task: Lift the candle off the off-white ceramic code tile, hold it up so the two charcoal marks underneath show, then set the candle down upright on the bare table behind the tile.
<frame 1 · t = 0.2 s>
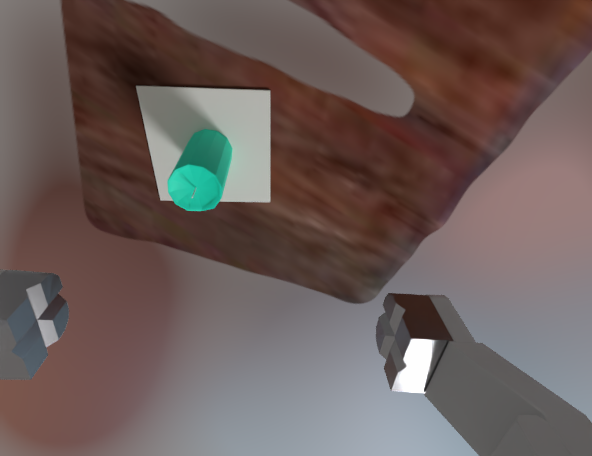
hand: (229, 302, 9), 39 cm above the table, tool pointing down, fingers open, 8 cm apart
code tile: (210, 149, 48), on the table
candle: (210, 149, 47), resting on code tile
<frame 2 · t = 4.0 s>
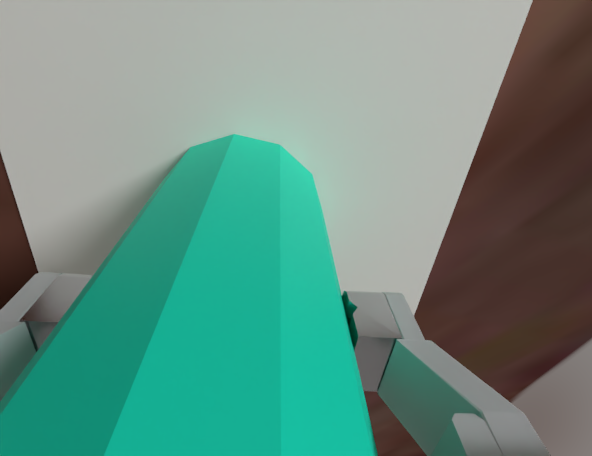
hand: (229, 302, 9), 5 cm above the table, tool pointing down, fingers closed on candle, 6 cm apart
code tile: (243, 209, 13), on the table
candle: (243, 211, 13), resting on code tile, touching gripper
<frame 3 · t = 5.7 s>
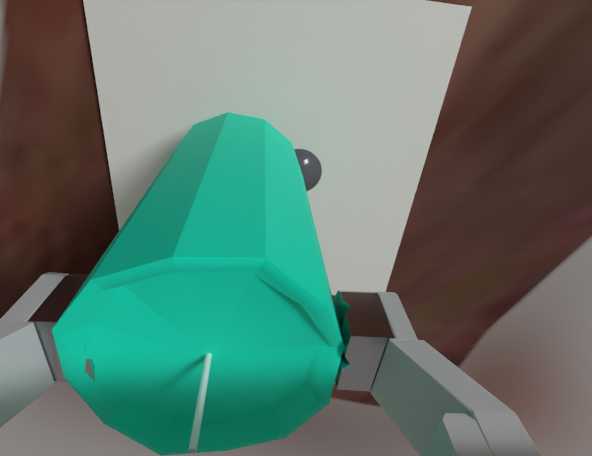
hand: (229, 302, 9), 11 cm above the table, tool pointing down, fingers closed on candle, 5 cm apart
code tile: (268, 166, 18), on the table
candle: (237, 176, 17), point 2 cm above the table, touching gripper
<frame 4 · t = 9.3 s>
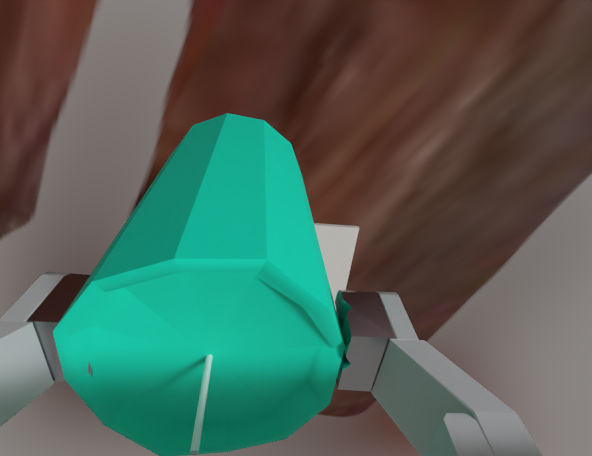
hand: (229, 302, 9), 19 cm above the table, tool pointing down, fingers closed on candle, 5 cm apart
code tile: (260, 293, 34), on the table
candle: (237, 177, 17), point 10 cm above the table, touching gripper
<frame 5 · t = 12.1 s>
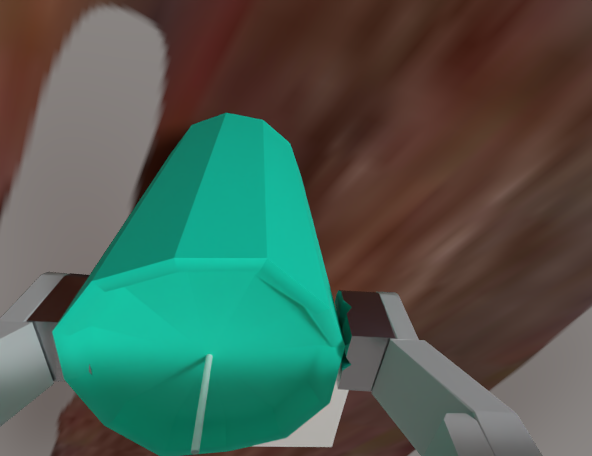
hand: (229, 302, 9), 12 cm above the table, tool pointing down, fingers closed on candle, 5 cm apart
code tile: (251, 389, 29), on the table
candle: (236, 177, 16), point 3 cm above the table, touching gripper
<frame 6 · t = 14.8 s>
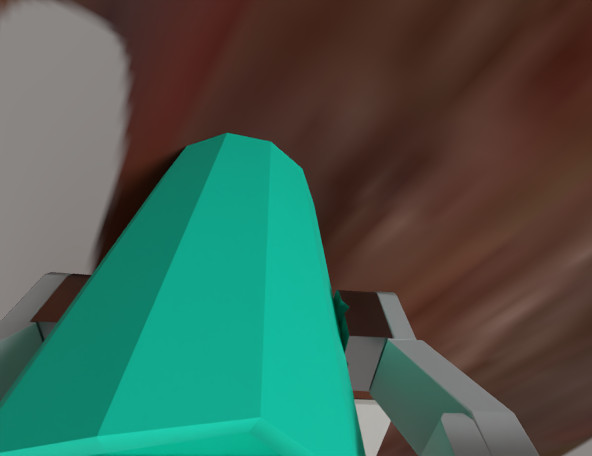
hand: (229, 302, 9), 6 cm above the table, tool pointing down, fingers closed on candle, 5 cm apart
candle: (238, 206, 14), on the table, touching gripper
when the fingers open (6 cm above the table, at t = 14.9 s): candle stays where it is, on the table.
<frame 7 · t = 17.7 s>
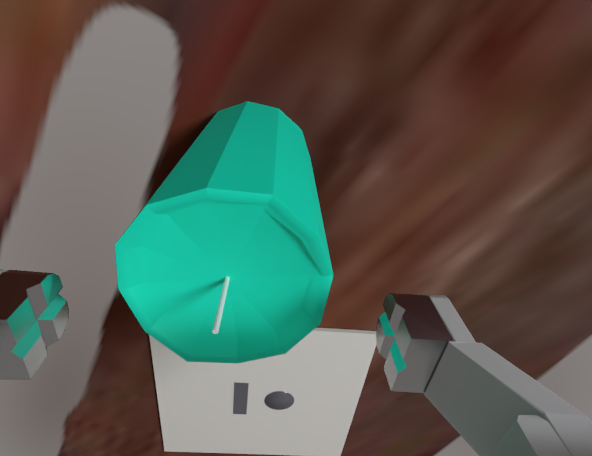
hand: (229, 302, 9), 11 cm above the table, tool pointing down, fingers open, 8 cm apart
code tile: (259, 396, 29), on the table
candle: (253, 159, 19), on the table
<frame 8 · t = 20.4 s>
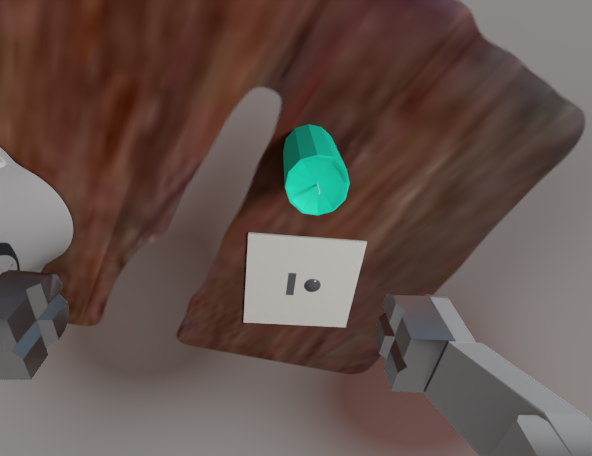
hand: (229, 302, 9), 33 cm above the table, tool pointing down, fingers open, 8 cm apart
code tile: (301, 283, 51), on the table
candle: (308, 149, 41), on the table
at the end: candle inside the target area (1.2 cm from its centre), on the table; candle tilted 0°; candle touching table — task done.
